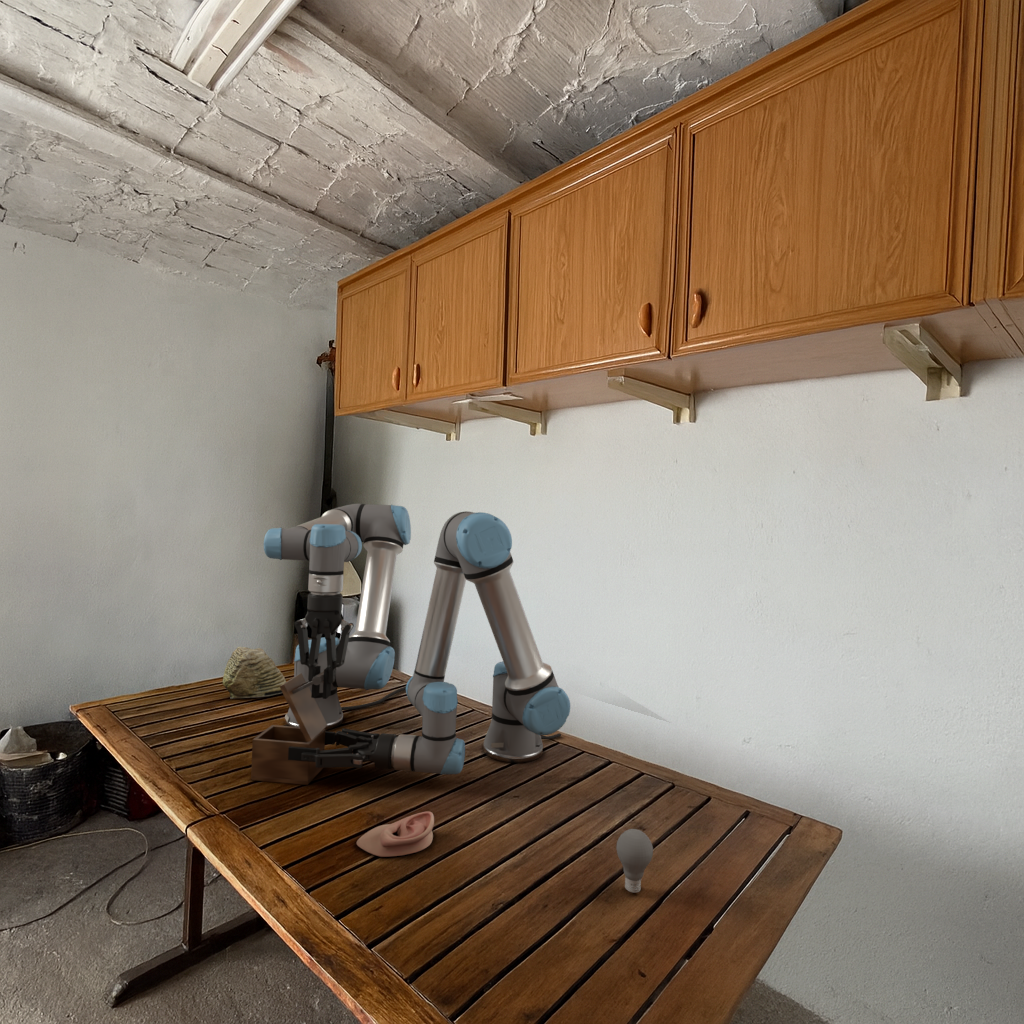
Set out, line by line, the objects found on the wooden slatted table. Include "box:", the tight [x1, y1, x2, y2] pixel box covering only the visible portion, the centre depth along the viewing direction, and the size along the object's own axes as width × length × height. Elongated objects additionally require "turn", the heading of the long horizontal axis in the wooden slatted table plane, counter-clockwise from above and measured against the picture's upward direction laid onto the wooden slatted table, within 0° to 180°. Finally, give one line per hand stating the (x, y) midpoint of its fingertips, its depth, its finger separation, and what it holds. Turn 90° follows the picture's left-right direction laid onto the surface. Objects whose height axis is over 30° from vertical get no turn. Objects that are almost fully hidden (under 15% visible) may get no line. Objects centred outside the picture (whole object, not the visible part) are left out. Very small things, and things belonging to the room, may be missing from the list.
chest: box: [250, 724, 326, 786], centre depth 144 cm, size 13×9×9 cm
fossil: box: [222, 646, 287, 699], centre depth 198 cm, size 9×18×15 cm, turn 132°
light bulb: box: [615, 828, 654, 894], centre depth 106 cm, size 6×6×10 cm
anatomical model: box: [356, 811, 435, 858], centre depth 118 cm, size 13×4×12 cm
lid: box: [280, 670, 327, 742], centre depth 143 cm, size 14×9×8 cm
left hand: (320, 696), depth 143 cm, fingers closed on lid, 2 cm apart
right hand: (298, 744), depth 144 cm, fingers closed on chest, 9 cm apart
